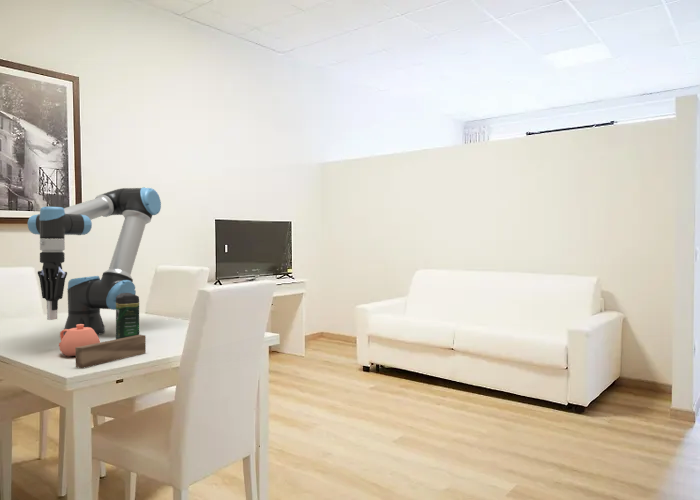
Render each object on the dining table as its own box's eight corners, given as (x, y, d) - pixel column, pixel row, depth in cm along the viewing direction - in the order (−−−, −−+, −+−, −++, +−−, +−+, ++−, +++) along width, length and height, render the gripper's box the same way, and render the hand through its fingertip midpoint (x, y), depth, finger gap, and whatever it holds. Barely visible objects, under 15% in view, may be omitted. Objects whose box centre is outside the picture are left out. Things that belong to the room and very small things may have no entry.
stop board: (75, 367, 164) (75, 347, 164) (139, 352, 185) (139, 334, 185) (82, 368, 162) (82, 348, 162) (145, 352, 184) (145, 335, 184)
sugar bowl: (84, 359, 174) (84, 328, 174) (46, 357, 177) (46, 326, 176) (108, 351, 186) (107, 322, 186) (71, 349, 189) (71, 320, 189)
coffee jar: (141, 343, 200) (141, 293, 200) (118, 345, 196) (118, 294, 195) (136, 339, 208) (135, 291, 208) (114, 341, 204) (113, 292, 203)
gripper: (30, 251, 186) (30, 319, 187) (53, 251, 180) (54, 322, 181) (50, 251, 193) (50, 316, 193) (74, 251, 187) (74, 319, 187)
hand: (52, 319), depth 187 cm, fingers closed
